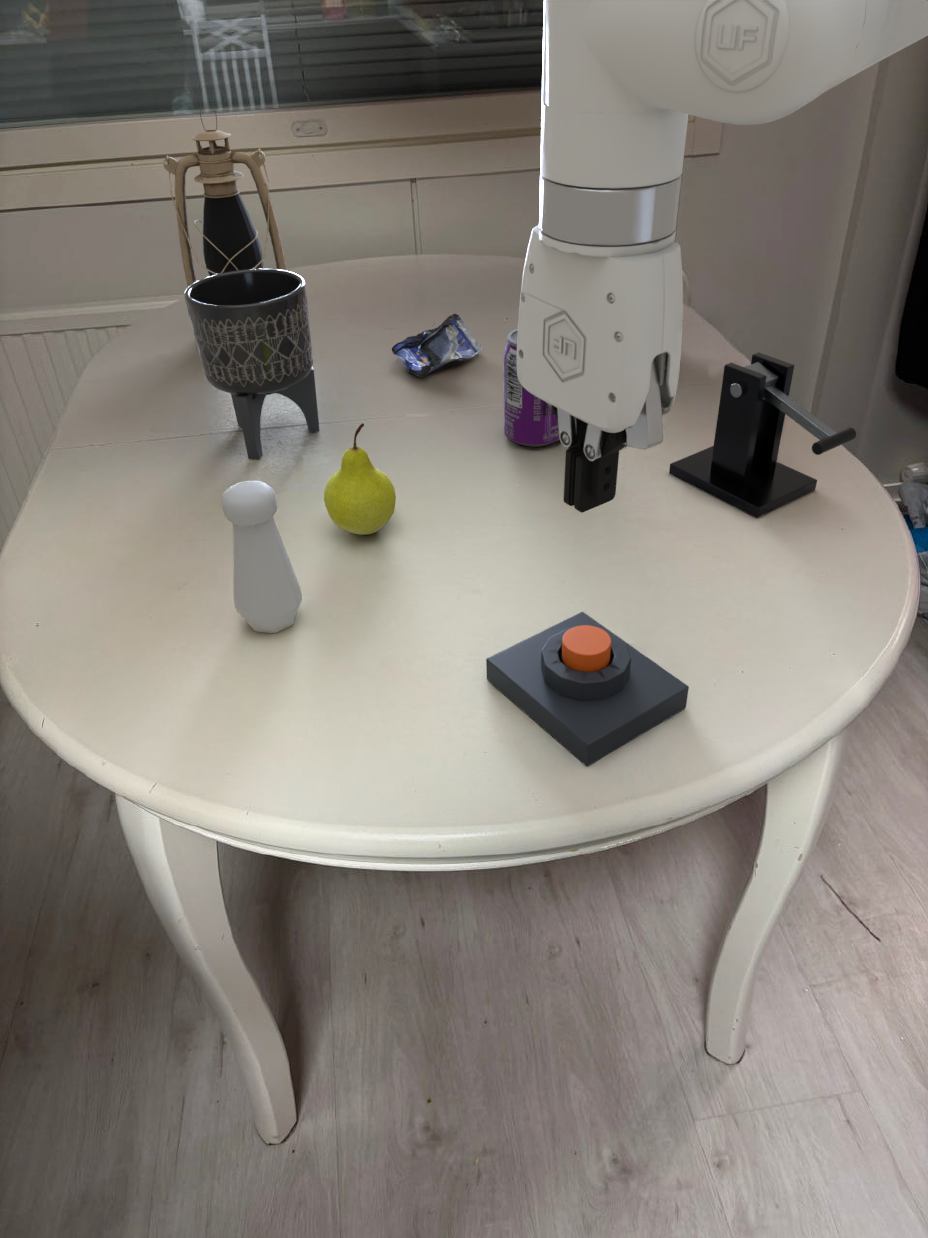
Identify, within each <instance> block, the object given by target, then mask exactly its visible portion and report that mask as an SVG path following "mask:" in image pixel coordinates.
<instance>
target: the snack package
mask: <svg viewBox="0 0 928 1238" xmlns="http://www.w3.org/2000/svg"><path fill="white" fill-rule="evenodd" d="M435 324H436V322H434V323H433V324H432V325H431V326H432V327H433V326H434V325H435ZM481 351H482V344H480V343H479V342H477V340H476V338H475V336H474V335H473V334H472V332H471V331H470V330H469V329H468V327H467V326H466V324H465V322H464V320H463V319H462V318H461V317H460V315H459V314H457V313H452V314H450V315H448V317H447V318H446V319H444V320H443V321H442V323H441V324H439V325H438V326H437V327H435V328H432V329H425V330H423V331H421V332H419V333H417V334H415V335H411V336H407V337H406V338H405V339H403V340H401V341H400V342H397V343H396V344H394V345H393V346H392V347H391V352H392V354H393V355H395V356H397V357H398V358H399V359H400V360H401V362H402V363H403V365H404V366H405V368H406V369H407V372H408V374H412V375H415V376H417V377H419V378H424V377H426V376H427V375H428V374H430V373H432V372H434V371H435V370H438V369H439V368H442V367H444V365H446V364H448V363H450V362H454V361H458V360H466V359H469V358H472V357H475V356H476V355H478V354H479V353H480V352H481Z"/></svg>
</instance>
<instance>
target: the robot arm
mask: <svg viewBox="0 0 928 1238" xmlns="http://www.w3.org/2000/svg"><path fill="white" fill-rule="evenodd" d="M542 22H543V27H542V30H543V31H542V72H541V73H542V74H541V115H540V116H541V117H540V119H541V121H540V128H541V129H540V165H539V166H540V170H539V171H540V175H539V184H538V186H539V209H538V210H539V214H538V215H539V217H538V225H535V226H534V227H533V228H532V230H531V233H530V237H529V242H528V245H527V249H526V255H525V260H524V266H523V271H522V278H521V287H520V296H519V304H518V320H517V329H518V333H517V377H518V380H519V382H520V383H521V385H522V386H523V387H524V388H525V389H526V390H527V391H528V392H530V393H531V394H533V395H534V396H536V397H538V398H540V399H542V400H543V401H545V402H546V403H547V404H548V405H549V406H551V407H552V409H553V412H554V414H555V416H556V418H557V420H558V428H559V441H560V443H561V445H562V446H563V447H564V448H567V449H566V450H565V460H564V481H563V502H564V503H565V504H567V506H570V507H573V508H574V509H575V510H576V511H578V512H579V513H586V512H588V511H590V510H593V509H595V508H597V507H600V506H602V505H605V504H606V503H609V502H612V501H613V500H614V499H615V497H616V494H617V483H618V469H619V457H620V451H623V450H625V449H627V448H633V449H639V450H649V449H651V448H653V447H655V446H658V445H661V444H662V443H663V442H664V437H665V436H664V422H663V416H664V415H667V414H669V413H670V412H671V411H672V409H673V406H674V403H675V400H676V395H677V391H678V390H677V389H678V385H679V377H680V371H681V370H680V369H681V359H682V347H683V346H682V345H683V330H684V329H683V327H684V284H683V283H684V282H683V281H684V279H683V263H682V251H681V245H680V243H678V242H676V241H675V240H676V233H677V224H678V215H679V205H680V197H681V187H682V179H683V178H682V177H683V175H682V174H683V169H684V168H683V167H684V160H685V151H686V140H687V131H688V124H689V123H688V122H689V115H690V116H694V117H697V118H702V119H705V120H709V121H713V122H718V123H723V124H728V125H736V126H756V125H763V124H768V123H772V122H775V121H776V122H777V121H779V120H781V119H783V118H785V117H788V116H789V115H792V114H793V113H795V112H796V111H797V112H798V110H800V109H801V108H803V107H804V106H806V105H808V104H809V103H811V102H813V101H814V100H816V99H818V98H819V97H820V96H821V95H822V94H824V93H825V92H827V91H829V90H831V89H833V88H835V87H837V86H838V85H840V84H842V83H843V82H845V81H847V80H848V79H850V78H852V77H854V76H856V75H858V74H859V73H861V72H864V70H866V69H869V68H870V67H872V66H874V65H876V64H878V63H879V62H881V61H883V60H885V59H887V58H889V57H891V56H893V55H894V54H896V53H897V52H900V51H902V50H903V49H905V48H908V47H910V46H911V45H913V44H915V43H917V42H918V41H921V40H922V39H924V38H926V37H928V0H543V21H542Z"/></svg>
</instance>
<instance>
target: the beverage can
mask: <svg viewBox="0 0 928 1238" xmlns="http://www.w3.org/2000/svg"><path fill="white" fill-rule="evenodd" d="M517 333H518V328H516V329H513V330H511V331H509V332H508V334H507V335H506V337H507V338H506V341H507V342H506V345H505V347H504V349H503V353H502V359H503V360H502V361H503V364H502V365H503V367H502V369H503V371H502V374H503V433H504V435H505V437H506V438H507V439H509V440H510V441H512V442H514V443H517V444H519V445H521V446H526V447H532V448H533V447H534V448H535V447H544V446H548V445H550V444H552V443H554V442H557V441H560V439H559V428H558V420H557V418H556V416H555V414H554V412H553V409H552V407H551V406H549V405H548V404H547V403H546V402H545V401H543V400H542V399H540V398H538V397H536V396H534V395H533V394H531V393H530V392H528V391H527V390H526V389H525V388H524V387H523V386H522V385H521V383H520V382H519V380H518V377H517Z"/></svg>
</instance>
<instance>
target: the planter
mask: <svg viewBox="0 0 928 1238" xmlns="http://www.w3.org/2000/svg"><path fill="white" fill-rule="evenodd" d="M307 294H308V293H307V284H306V281H305V279H304V278H303V277H302V276H301V275H299V274H297V273H295V272H293V271H288V270H287V271H284V270H277V268H276V269H274V268H263V269H247V270H237V271H231V272H225V273H221V274H216V275H213V276H210V275H209V276H207V277H204V278H201V279H199V280H196V282H195V283H193V284H192V285H190V286H189V287H188V286H187V288H186V289H185V291H184V293H183V298H184V301H185V306H186V309H187V313H188V317H189V320H190V325H191V328H192V332H193V335H194V339H195V343H196V347H197V351H198V354H199V358H200V361H201V366H202V369H203V373H204V375H205V378H206V380H207V382H208V383H209V384H210V386H212V387H213V388H215V389H217V390H219V391H221V392H224V393H228V394H230V396H231V401H232V406H233V410H234V415H235V419H236V423H237V427H238V428H240V429H241V431H242V437H243V440H244V444H245V449H246V453H247V459H248V460H257V461H258V460H260V459H261V458H262V457H263V447H262V436H261V421H262V420H261V419H262V412H263V411H262V410H263V406H264V403H265V400H266V397H267V396H270V395H274V394H278V395H281V396H283V397H286V398H287V399H289V400H291V401H292V402H293V403H294V404H295V405H296V406H297V407H298V408H299V409H300V410H301V412H302V414H303V416H304V419H305V422H306V426H307V428H308V432H309V433H310V434H313V433H318V432H320V422H319V421H320V419H319V411H318V410H319V409H318V400H317V390H316V380H315V379H316V378H315V369H314V367H313V365H314V358H313V349H312V348H313V347H312V337H311V326H310V316H309V306H308V305H309V304H308V295H307Z"/></svg>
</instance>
